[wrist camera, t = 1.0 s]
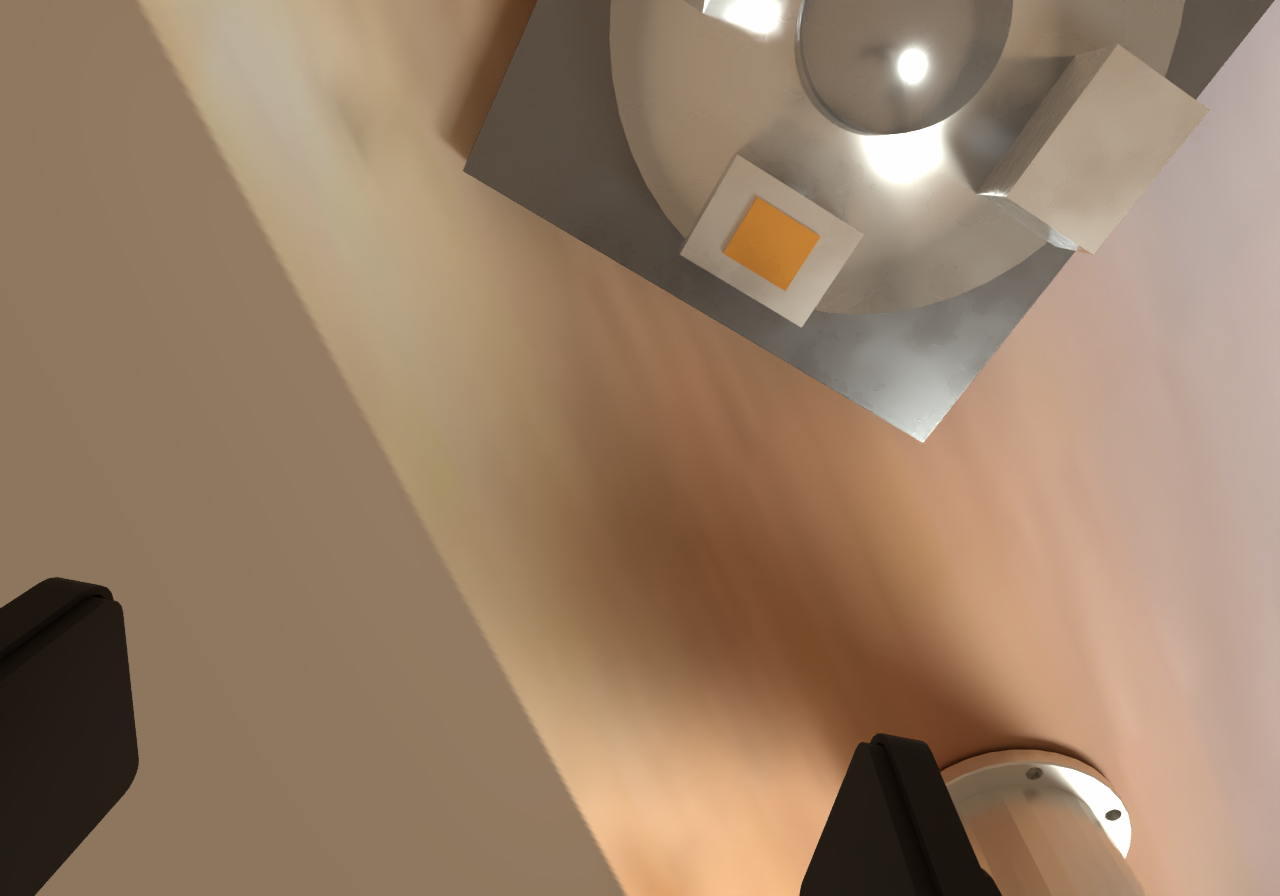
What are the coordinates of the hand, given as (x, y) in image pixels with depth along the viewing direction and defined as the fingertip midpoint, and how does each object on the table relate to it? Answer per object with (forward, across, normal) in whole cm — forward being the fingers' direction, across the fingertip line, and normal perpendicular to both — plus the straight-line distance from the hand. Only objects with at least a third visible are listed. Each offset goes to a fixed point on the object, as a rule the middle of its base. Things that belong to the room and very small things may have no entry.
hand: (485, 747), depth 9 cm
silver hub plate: (+22, -7, -12) cm, 26 cm away
